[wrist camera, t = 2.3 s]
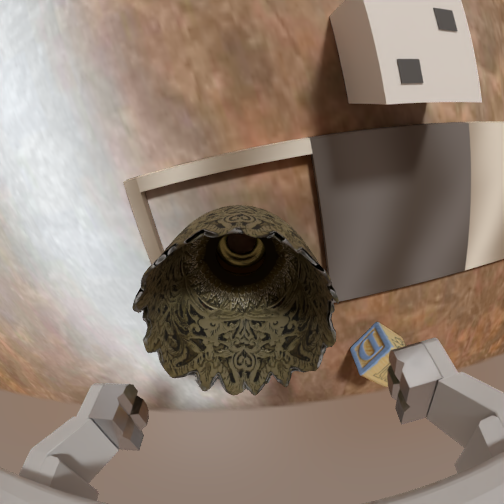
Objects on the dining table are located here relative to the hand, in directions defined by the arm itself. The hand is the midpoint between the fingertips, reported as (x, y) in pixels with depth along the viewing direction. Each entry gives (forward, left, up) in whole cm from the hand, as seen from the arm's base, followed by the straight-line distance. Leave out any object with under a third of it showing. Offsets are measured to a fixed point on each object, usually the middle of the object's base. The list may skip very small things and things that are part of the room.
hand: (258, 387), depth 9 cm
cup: (-1, 0, -11) cm, 10 cm away
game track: (+9, 0, -10) cm, 14 cm away
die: (+9, +9, -10) cm, 17 cm away
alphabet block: (+7, -10, -11) cm, 16 cm away
